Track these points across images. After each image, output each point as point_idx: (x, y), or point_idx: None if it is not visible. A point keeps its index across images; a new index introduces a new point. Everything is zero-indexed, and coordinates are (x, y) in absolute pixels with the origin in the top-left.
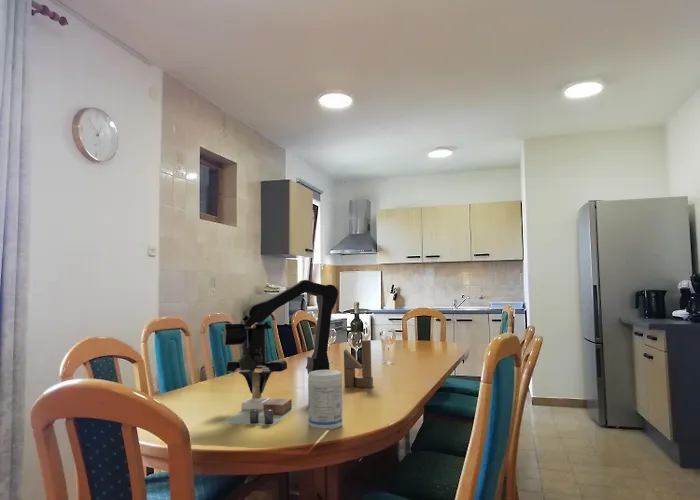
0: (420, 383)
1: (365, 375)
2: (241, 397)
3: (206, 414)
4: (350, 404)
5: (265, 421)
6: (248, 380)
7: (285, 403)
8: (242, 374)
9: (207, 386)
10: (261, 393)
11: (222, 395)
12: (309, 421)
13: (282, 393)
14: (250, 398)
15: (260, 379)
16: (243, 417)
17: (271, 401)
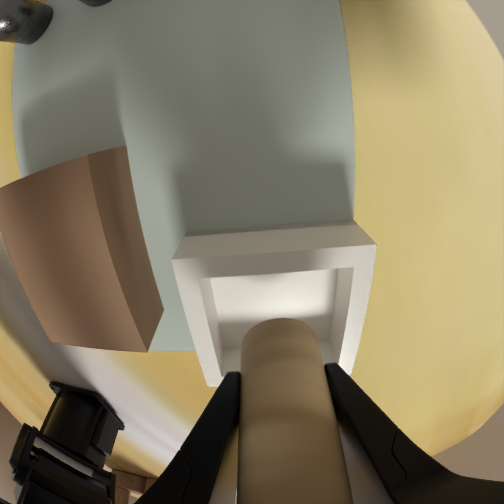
0: None
1: (116, 490)
2: (408, 412)
3: (497, 167)
4: (26, 380)
5: (39, 2)
6: (394, 458)
7: (7, 246)
8: (495, 483)
9: (476, 420)
10: (229, 372)
11: (458, 400)
12: None
13: None
14: (346, 356)
15: (206, 496)
16: (236, 38)
17: (96, 274)
